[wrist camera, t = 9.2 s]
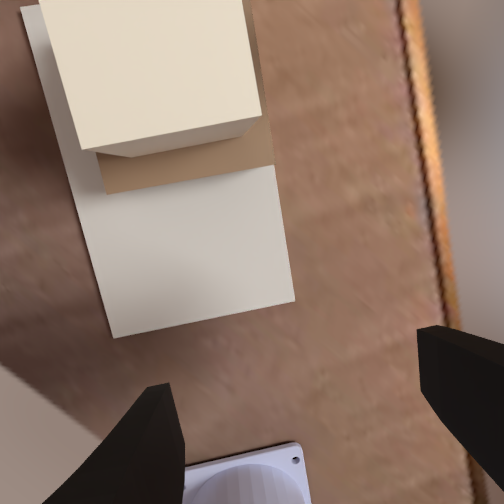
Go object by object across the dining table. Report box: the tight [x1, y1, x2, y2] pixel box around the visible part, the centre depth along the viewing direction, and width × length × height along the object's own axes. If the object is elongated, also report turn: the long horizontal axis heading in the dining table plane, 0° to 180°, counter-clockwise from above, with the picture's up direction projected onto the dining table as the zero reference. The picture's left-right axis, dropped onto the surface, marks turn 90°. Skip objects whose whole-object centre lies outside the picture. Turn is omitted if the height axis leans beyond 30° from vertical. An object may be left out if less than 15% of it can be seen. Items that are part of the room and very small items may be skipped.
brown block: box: [96, 0, 276, 195], centre depth 16 cm, size 7×7×4 cm
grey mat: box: [20, 4, 295, 339], centre depth 19 cm, size 16×10×1 cm, turn 10°
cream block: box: [39, 0, 262, 158], centre depth 12 cm, size 4×4×6 cm
